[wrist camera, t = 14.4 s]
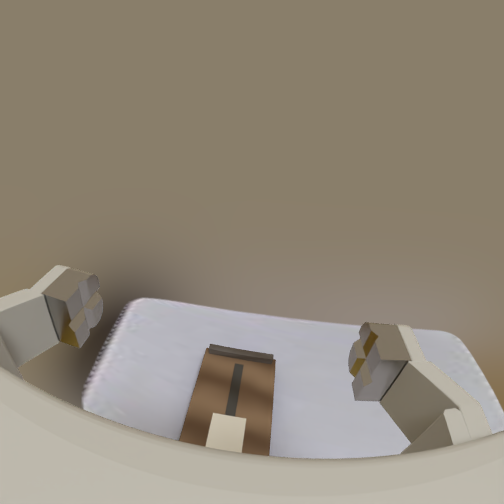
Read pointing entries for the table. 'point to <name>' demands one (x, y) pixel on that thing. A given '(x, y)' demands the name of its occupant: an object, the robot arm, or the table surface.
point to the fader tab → (226, 433)
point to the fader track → (233, 396)
